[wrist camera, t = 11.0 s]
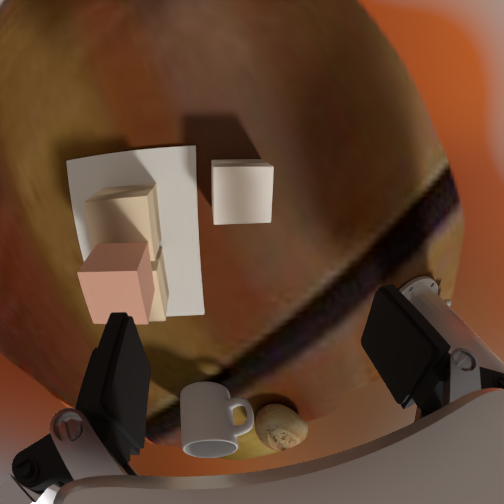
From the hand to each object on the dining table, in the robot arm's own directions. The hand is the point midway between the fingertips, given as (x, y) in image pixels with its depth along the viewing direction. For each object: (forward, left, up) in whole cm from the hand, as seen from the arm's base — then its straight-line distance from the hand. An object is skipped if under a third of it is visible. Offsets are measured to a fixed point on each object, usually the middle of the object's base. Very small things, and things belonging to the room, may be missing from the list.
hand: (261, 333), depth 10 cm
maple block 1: (+10, +1, -20) cm, 22 cm away
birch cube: (-1, -1, -20) cm, 20 cm away
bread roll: (-10, +45, -20) cm, 51 cm away
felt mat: (+10, +5, -20) cm, 23 cm away
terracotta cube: (+9, +5, -15) cm, 18 cm away
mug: (+3, +33, -20) cm, 39 cm away
